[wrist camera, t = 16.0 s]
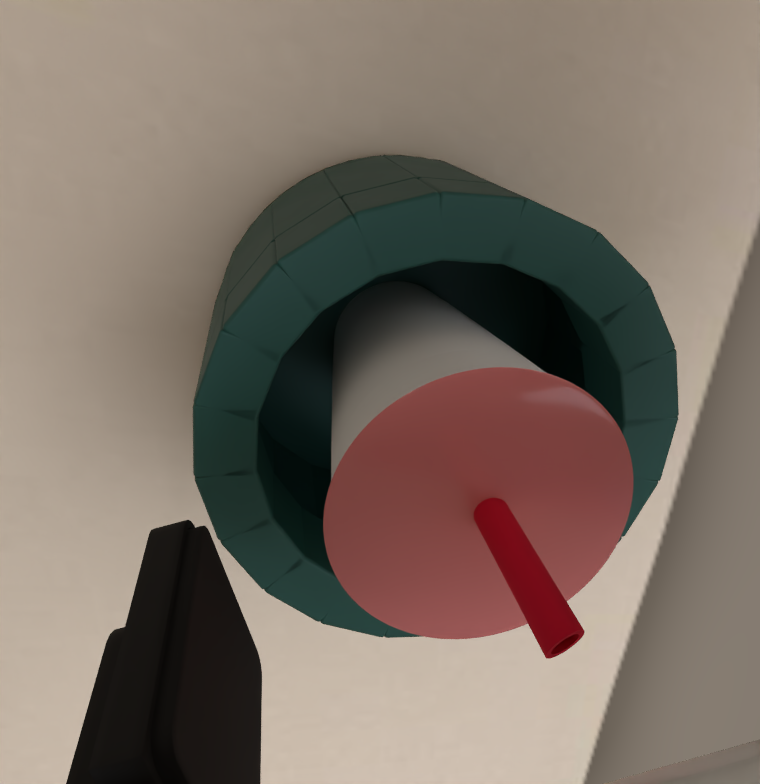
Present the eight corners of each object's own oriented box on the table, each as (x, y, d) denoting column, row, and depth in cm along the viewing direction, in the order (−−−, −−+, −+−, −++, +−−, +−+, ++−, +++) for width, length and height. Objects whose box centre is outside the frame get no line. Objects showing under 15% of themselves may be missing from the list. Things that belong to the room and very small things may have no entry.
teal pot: (165, 206, 18) (112, 273, 12) (530, 115, 18) (669, 133, 12) (271, 513, 22) (275, 686, 16) (567, 433, 23) (685, 570, 16)
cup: (514, 365, 21) (790, 675, 10) (359, 455, 21) (461, 846, 10) (432, 206, 19) (671, 384, 8) (260, 310, 19) (256, 619, 8)
